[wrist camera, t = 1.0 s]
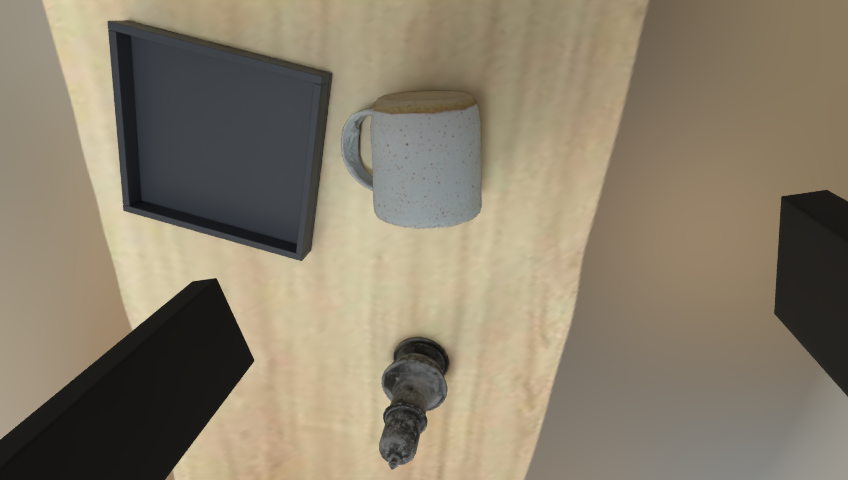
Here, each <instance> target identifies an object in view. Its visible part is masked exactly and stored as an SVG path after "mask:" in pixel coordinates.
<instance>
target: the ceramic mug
mask: <svg viewBox="0 0 848 480" xmlns="http://www.w3.org/2000/svg"><path fill="white" fill-rule="evenodd" d="M368 115H372V119H371V144H372V158H373V176H371V175H370V174H369V173H368V172H367V171H366V169H365V168H364V167H363V165H362V163H361V160H360V158H359V151H358V141H359V133H360V129H359V125H360V123H361V122H362V120H364V119H365V118H366V117H367V116H368ZM341 150H342V156H343V160H344V163H345V165H346V167H347V169H348V171H349V172H350V174H351V175H352V176H353V177H354V178H355V179H356V180H357V181H358V182H359V183H360V184H361V185H363V186H364V187H366V188H368V189H370V190H372V191H373V203H374V211H375V214H376V216H377V217H378V218H379V219H381V220H382V221H384V222H386V223H390V224H393V225H396V226H401V227H409V228H443V227H451V226H455V225H459V224H462V223H464V222H467V221H470V220H472V219H473V218H475V217H476V216H477V215H478V214H479V213H480V210H481V207H482V199H481V123H480V116H479V109H478V105H477V102H476V100H475V98H474V97H473V96H472V95H470V94H469V93H465V92H458V91H418V92H404V93H395V94H388V95H384V96H382V97H380V98H379V99H378V100H377V101H376V102H375V103H374V106H373V108H369V109H365V110H361V111H359V112H357V113H355V114H353V115H351V116H350V118H349V119H348V120H347V121H346V123H345V125H344V127H343V131H342V138H341Z"/></svg>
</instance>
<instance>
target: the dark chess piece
mask: <svg viewBox="0 0 848 480" xmlns="http://www.w3.org/2000/svg"><path fill="white" fill-rule="evenodd" d="M448 365H449V361H448V356H447V354H446V352H445V351H444V350H443V348H442V347H441V346H440V345H438V344H437V343H435V342H434V341H431V340H429V339H425V338H410V339H407V340H405V341H403V342H401V343H400V344H399V345H398V346H397V347H396V350H395V352H394V362H393V363H392V364H391V365H389V366H388V368H387V369H386V370H385V371H384V374H383V376H382V387H383V391H384V392H385V394H386V396H387V397H388V398H389V399H390V400H391V405H390V406H388V407H387V408H386V409H385V412H384V414H383V419H384V423H385V427H384V430H383V433H382V436H381V440H380V443H379V451H380V454H381V455H382V457H383V458H384V459H385V460H386V461H387V462H389V466H390V468H391V469H392V470H393V469H395V468H396V467H398V465H403V464H406V463H408V462H410V461H411V460H412V459H413V458H414V456H415V454H416V450H417V446H418V441H419V437H420V434H421V433H422V432H423V431H424V430H425V429H426V427H427V417H426V415H425V414H426V411H430V410H433V409H435V408H437V407H439V406H440V405H441V404H442V403H443V402H444V400H445V398H446V396H447V384H446V381H445V379H444V375H445V374H446V372H447V370H448Z"/></svg>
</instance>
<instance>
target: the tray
mask: <svg viewBox="0 0 848 480" xmlns="http://www.w3.org/2000/svg"><path fill="white" fill-rule="evenodd" d="M108 29H109V30H108V32H109V44H110V55H111V67H112V79H113V91H114V102H115V114H116V126H117V137H118V149H119V161H120V172H121V184H122V196H123V204H124V205H123V209H124V211H126V212H130V213H133V214H137V215H141V216H144V217H148V218H151V219H155V220H158V221H162V222H165V223H169V224H172V225H176V226H179V227H183V228H187V229H190V230H194V231H197V232H201V233H204V234H208V235H211V236H215V237H218V238H222V239H226V240H229V241H233V242H236V243H240V244H243V245H247V246H250V247H254V248H257V249H261V250H264V251H268V252H272V253H275V254H279V255H282V256H286V257H289V258H293V259H296V260H300V261H302V260H303V259H304V258H305V257H306V256H307V254H308V253H309V252H310V251H311V244H312V236H313V228H314V219H315V211H316V203H317V195H318V186H319V178H320V170H321V162H322V153H323V145H324V137H325V128H326V120H327V112H328V104H329V95H330V87H331V79H332V73H329V72H325V71H321V70H317V69H313V68H309V67H305V66H302V65H298V64H294V63H290V62H286V61H282V60H278V59H274V58H271V57H267V56H263V55H259V54H255V53H251V52H247V51H243V50H240V49H236V48H232V47H228V46H224V45H220V44H216V43H212V42H209V41H205V40H201V39H197V38H193V37H189V36H185V35H181V34H178V33H174V32H170V31H166V30H162V29H158V28H154V27H150V26H147V25H143V24H139V23H135V22H131V21H108Z"/></svg>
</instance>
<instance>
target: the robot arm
mask: <svg viewBox="0 0 848 480" xmlns="http://www.w3.org/2000/svg"><path fill="white" fill-rule="evenodd" d="M774 314H775V315H776V316H777V317H778V318H779V319H780V320H781V322H782V323H783V324H784V325H785V326H786V327H787V328H788V329H789V331H790V332H791V333H792V334H793V335H794V336H795V337H796V339H797V340H798V341H799V342H800V343H801V344H802V345H803V347H804V348H805V349H806V350H807V351H808V352H809V353H810V354H811V356H812V357H813V358H814V359H815V360H816V361H817V362H818V363H819V364H820V366H821V367H822V368H823V369H824V370H825V371H826V372H827V374H828V375H829V376H830V377H831V378H832V379H833V380H834V382H835V383H836V384H837V385H838V386H839V387H840V388H841V389H842V391H843V392H844V393H845V394H846V395H847V396H848V201H846V200H844V199H843V198H841V197H839V196H837V195H835V194H833V193H831V192H830V191H828V190H823V191H816V192H809V193H802V194H796V195H788V196H782V197H781V212H780V228H779V246H778V261H777V278H776V294H775V310H774ZM253 362H254V358H253V356H252V354H251V352H250V350H249V348H248V345H247V343H246V341H245V339H244V337H243V335H242V332H241V330H240V328H239V326H238V324H237V322H236V319H235V317H234V315H233V313H232V311H231V309H230V306H229V304H228V302H227V300H226V298H225V296H224V293H223V291H222V289H221V287H220V285H219V283H218V280H217V278H214V279H207V280H200V281H193V282H191V283H190V284H189V285H188V286H186V287H185V288H184V289H183V290H182V291H180V292H179V293H178V294H177V295H175V296H174V297H173V298H172V299H171V300H169V301H168V302H167V303H166V304H165V305H163V306H162V307H161V308H160V309H158V310H157V311H156V312H155V313H154V314H152V315H151V316H150V317H149V318H148V319H146V320H145V321H144V322H143V323H141V324H140V325H139V326H138V327H137V328H135V329H134V330H133V331H132V332H131V333H129V334H128V335H127V336H126V337H125V338H123V339H122V340H121V341H120V342H118V343H117V344H116V345H115V346H114V347H112V348H111V349H110V350H109V351H107V352H106V353H105V354H104V355H103V356H102V357H100V358H99V359H98V360H97V361H95V362H94V363H93V364H92V365H90V366H89V367H88V368H87V369H86V370H84V371H83V372H82V373H81V374H80V375H78V376H77V377H76V378H75V379H74V380H72V381H71V382H70V383H69V384H67V385H66V386H65V387H64V388H63V389H62V390H60V391H59V392H58V393H56V394H55V395H54V396H53V397H52V398H50V399H49V400H48V401H47V402H46V403H44V404H43V405H42V406H41V407H40V408H38V409H37V410H36V411H35V412H33V413H32V414H31V415H30V416H29V417H27V418H26V419H25V420H24V421H22V422H21V423H20V424H19V425H18V426H16V427H15V428H14V429H13V430H12V431H10V432H9V433H8V434H7V435H5V436H4V437H3V438H2V439H1V440H0V480H165V479H166V478H167V476H168V475H169V473H170V472H171V471H172V470H173V468H174V467H175V466H176V464H177V463H178V462H179V460H180V459H181V458H182V456H183V455H184V454H185V452H186V451H187V450H188V448H189V447H190V446H191V444H192V443H193V442H194V440H195V439H196V438H197V436H198V435H199V434H200V433H201V431H202V430H203V429H204V427H205V426H206V425H207V423H208V422H209V421H210V419H211V418H212V417H213V415H214V414H215V413H216V411H217V410H218V409H219V407H220V406H221V405H222V403H223V402H224V401H225V399H226V398H227V397H228V395H229V394H230V393H231V391H232V390H233V389H234V387H235V386H236V385H237V383H238V382H239V381H240V379H241V378H242V377H243V375H244V374H245V373H246V371H247V370H248V369H249V367H250V366H251V365H252V363H253Z"/></svg>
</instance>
